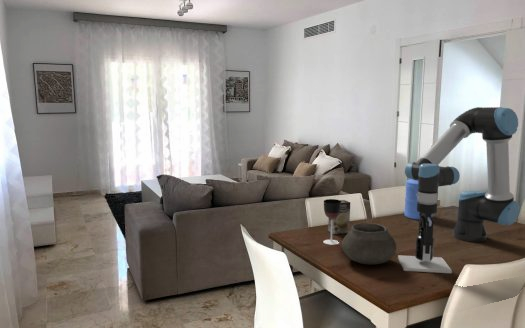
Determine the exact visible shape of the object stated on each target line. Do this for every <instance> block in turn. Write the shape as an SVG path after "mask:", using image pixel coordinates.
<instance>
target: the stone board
mask: <svg viewBox="0 0 525 328" xmlns="http://www.w3.org/2000/svg"><path fill="white" fill-rule="evenodd" d="M397 259H398V261H399V264H400V265H401V268H402V270H403V271H405V272H421V273H422V272H424V273H425V272H426V273H441V274H452V273H453V271H452V269H451V268H450V266H449V264H447V262H446V261H445V259H443V257H439V256H437V257H436V256H433V259H432V260H431V261H422V260H418V259H417V258H416V257H415V255H399V254H397Z"/></svg>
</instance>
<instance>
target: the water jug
mask: <svg viewBox="0 0 525 328" xmlns="http://www.w3.org/2000/svg"><path fill="white" fill-rule="evenodd" d="M416 194H418V181H417V180H413V179H409V178H408V179H407V180H406V181H405V197H404V212H403V214H404V216H405V217H406V218H409V219H412V220H417V221H419V214H420V212H418V211H417V203H418V202H419V201H418V196H416ZM431 217H432V218H433V217H434V214H431Z"/></svg>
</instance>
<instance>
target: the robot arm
mask: <svg viewBox="0 0 525 328" xmlns="http://www.w3.org/2000/svg"><path fill="white" fill-rule="evenodd" d="M518 127H519V118H518V115H517V113H516V111H514V110H513V109H512V108H509V107H503V106H502V107H501V106H500V107H494V106H493V107H490V106H489V107H482V106H479V107H478V106H477V107H473V108H470V109H468V110H466V111H464V112H463V113H461V114H459V115H458V116H457V117H455V119H454V120H453V121H451V123H450V125H449V128H448V129H447V130H446V131H445V132H444V133H443V134H442V135H441V136H440V137H439V138H438V139H437V140H436V141H435V142H434V144H433V145H431V147H430V148H428V150H426V152H425V153H424V154H423V155H422V156H421V157H420V158H419V159H418V160H417V161H416V162H415V161H414V162H412V161H411V162H408V163H407V164H406V165H405V167H404V174H405V176H406V178H408V180H409V179H413V180H417V181H418V194H416V196H418V201H419V202H418V203H417V211H418V212H420V214H419V220H418V232H417V236H418V235H420V234H419V230H420V229H424V244H422V245H423V259H422V260H423V261H430V252H431V246H432V245H433V239H434V225H435V224H434V223H435V221H434V220H433V217H431V214H433V215H434V214H437V212H438V204H437V203H438V202H439V201H438V199H439V187H446V186H452V185H455V184H457V183H458V182H459V180H460V179H461V178H460V175H461V173H460V171H459V170H458V168H456V167H454V166H440V164H441V162H442V161H443V160H444V159H445V158H447V156H448V155H449V154H450V153H451V152H452V151H453V150H454V148H456V147H457V146H458V145H459V144H460V143H461V141H463V139H466V138H468V137H469V136H471V135H472V134H476V133H477V134H481V137H482V140H483V141H484V142H485V143H486V164H487V166H486V168H487V189H488V190H487V191H488V192H486V191H483V190H482V191H481V190H467V191H466V190H465V191H462V192H460V194H459V197H458V209H457V210H458V211H457V213H458V214H457V221H456V223H455V225H454V227H453V229H452V230H453V231H452V236H453V237H454V238H456V239H458V240H462V241H467V242H475V243H477V242H478V243H479V242H484V241H487V239H488V233H487V229H486V227H485V226H486V225H485V222H491V223H494V224H498V225H503V226H510V225H513V224H514V223H515V222H516V221H517V219H518V217H519V216H520V215H519V214H520V212H521V211H520V210H521V205H520V203H519V202H518V201H517V200H514V199H515V198H514V197H515V196H514V193H512V192H511V190H510V185H511V184H510V157H509V156H510V155H509V154H510V153H509V152H510V151H509V141H510V140H512V139H513V135H515V134H516V132H517V131H518Z"/></svg>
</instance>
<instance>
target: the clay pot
mask: <svg viewBox="0 0 525 328" xmlns="http://www.w3.org/2000/svg"><path fill="white" fill-rule="evenodd" d="M341 249H342V251H343V253H344V254H345V255H346V256H347V257H348V259H350V260H352V261H353V262H356V263H359V264H362V265H380V264H383V263H386V262H388V261H389V260H391V259H392V258H393V257H394V256H395V254H396V252H397V243H396V241H395V239H394V238H393V236H392V235H391V234H390V232H389V230H388V229H387V227H386V226H385V225H382V224H379V223H374V222H358V223H355V224H352V226H351V228H350V229H349V233H346V235H345V236H344V237H343V239H342V242H341Z"/></svg>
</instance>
